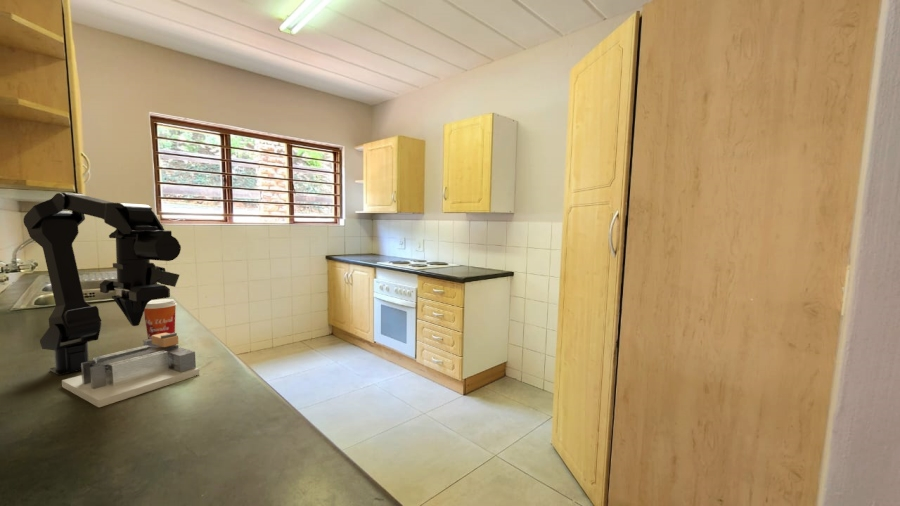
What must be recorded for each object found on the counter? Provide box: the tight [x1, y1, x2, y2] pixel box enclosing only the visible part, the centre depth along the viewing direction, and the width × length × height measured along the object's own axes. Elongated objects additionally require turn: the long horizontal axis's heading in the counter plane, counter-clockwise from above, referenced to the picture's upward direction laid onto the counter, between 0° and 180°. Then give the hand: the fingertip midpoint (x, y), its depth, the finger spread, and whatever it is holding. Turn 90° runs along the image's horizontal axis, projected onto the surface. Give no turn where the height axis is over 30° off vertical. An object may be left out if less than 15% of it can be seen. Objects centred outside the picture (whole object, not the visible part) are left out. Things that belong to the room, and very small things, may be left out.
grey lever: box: [92, 344, 180, 369], centre depth 83 cm, size 3×15×1 cm, turn 152°
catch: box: [152, 332, 179, 347], centre depth 89 cm, size 6×3×3 cm, turn 62°
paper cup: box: [143, 298, 178, 339], centre depth 103 cm, size 8×8×14 cm
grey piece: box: [80, 338, 197, 389], centre depth 83 cm, size 18×16×5 cm
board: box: [61, 367, 200, 408], centre depth 82 cm, size 19×18×2 cm
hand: (135, 325), depth 83 cm, fingers closed
